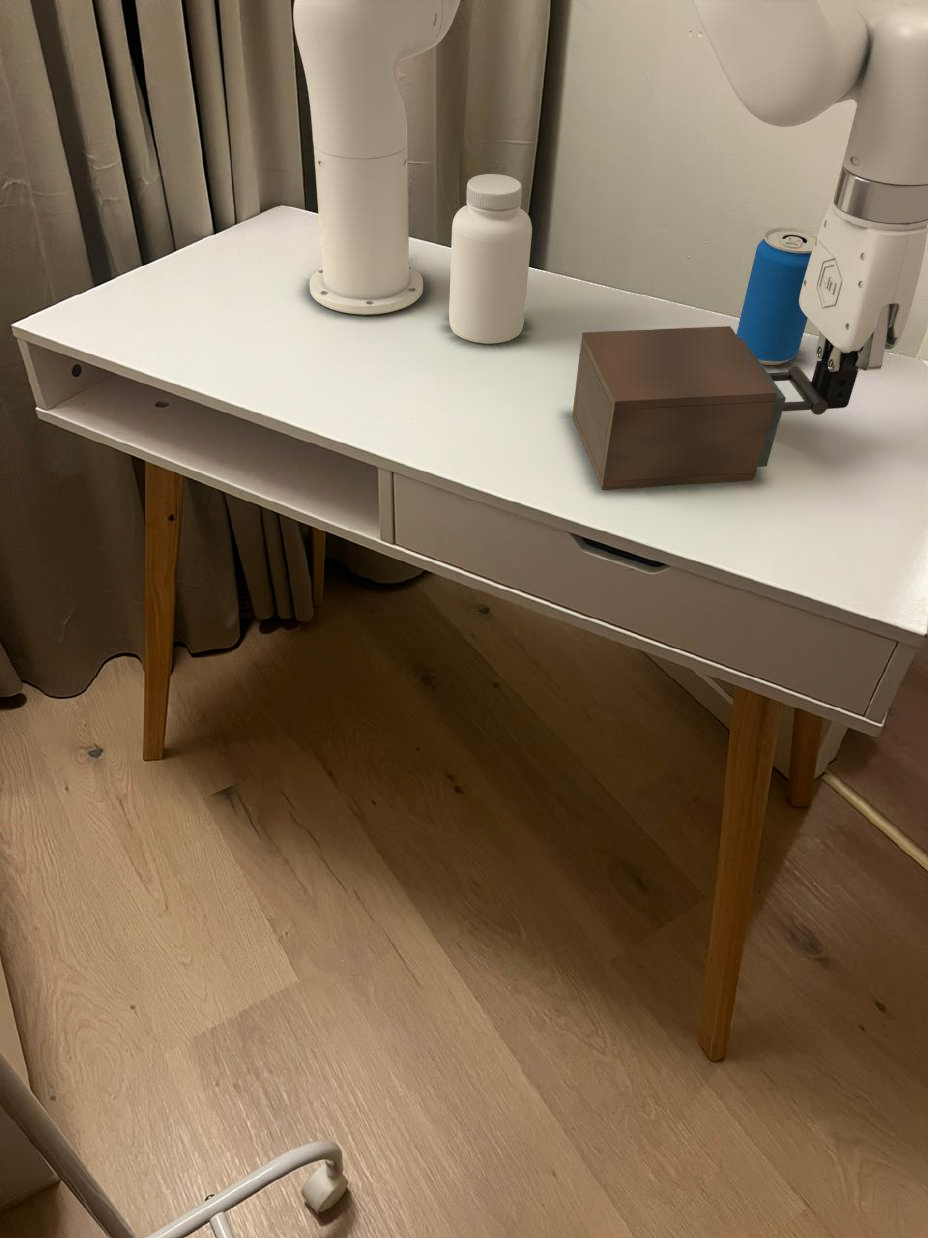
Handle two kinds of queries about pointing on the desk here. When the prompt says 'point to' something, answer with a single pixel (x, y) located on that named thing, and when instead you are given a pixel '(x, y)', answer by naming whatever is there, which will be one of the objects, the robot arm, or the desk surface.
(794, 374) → the drawer
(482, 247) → the pill bottle
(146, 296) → the desk surface
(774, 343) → the beverage can
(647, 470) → the wooden drawer cabinet
